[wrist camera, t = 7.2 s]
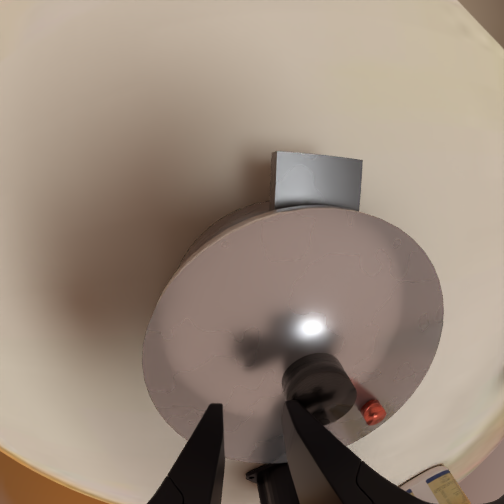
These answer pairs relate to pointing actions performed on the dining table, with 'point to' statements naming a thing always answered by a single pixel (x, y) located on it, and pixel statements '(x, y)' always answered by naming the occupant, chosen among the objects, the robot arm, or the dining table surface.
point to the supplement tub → (436, 487)
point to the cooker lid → (294, 328)
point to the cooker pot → (298, 188)
